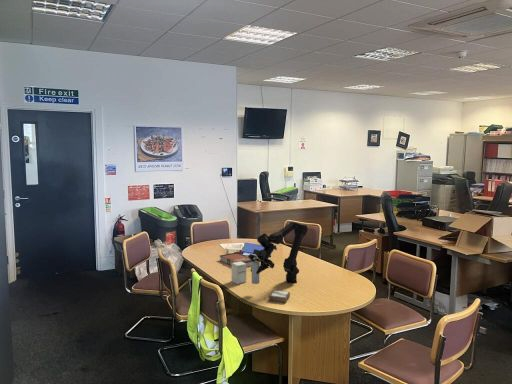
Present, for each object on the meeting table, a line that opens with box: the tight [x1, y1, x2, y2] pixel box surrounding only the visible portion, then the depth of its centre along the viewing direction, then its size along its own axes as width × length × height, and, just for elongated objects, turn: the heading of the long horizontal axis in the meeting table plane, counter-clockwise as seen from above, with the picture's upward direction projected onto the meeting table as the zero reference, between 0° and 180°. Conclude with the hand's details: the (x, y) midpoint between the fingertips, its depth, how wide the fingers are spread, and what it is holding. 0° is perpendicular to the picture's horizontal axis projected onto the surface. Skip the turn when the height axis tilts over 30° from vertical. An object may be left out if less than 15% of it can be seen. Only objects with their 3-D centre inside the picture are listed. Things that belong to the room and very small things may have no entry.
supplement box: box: [231, 261, 247, 285], centre depth 262 cm, size 7×7×13 cm
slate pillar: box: [251, 262, 261, 285], centre depth 241 cm, size 5×5×12 cm
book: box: [219, 251, 252, 268], centre depth 305 cm, size 26×18×5 cm
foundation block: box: [268, 289, 291, 304], centre depth 234 cm, size 10×10×3 cm
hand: (253, 272), depth 240 cm, fingers closed on slate pillar, 5 cm apart
